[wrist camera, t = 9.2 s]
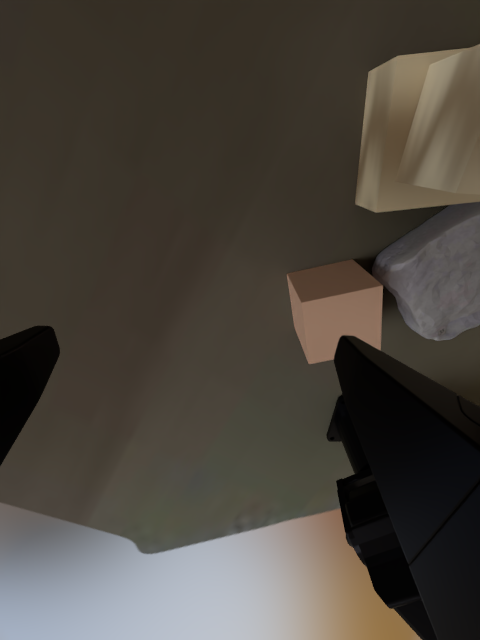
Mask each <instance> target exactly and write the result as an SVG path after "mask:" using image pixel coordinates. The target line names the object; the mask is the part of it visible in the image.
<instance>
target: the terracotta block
mask: <svg viewBox="0 0 480 640" xmlns="http://www.w3.org/2000/svg"><path fill="white" fill-rule="evenodd" d="M287 278H288V285H289V292H290V299H291V306H292V313H293V320H294V327H295V330H296V332H297V335H298V337H299V340H300V343H301V345H302V348H303V350H304V353H305V355H306V358H307V360H308V363H309V364H313V363H318V362H323V361H328V360H333V359H334V355H335V351H336V348H337V344H338V341H339V338H340V337H341V336H342V335H352V336H355V337H357V338H359V339H361V340H362V341H364V342H366V343H368V344H369V345H371V346H373V347H375V348H377V349H378V350H381V325H382V299H383V285H382V284H381V283H380V282H378V281H377V280H376V279H375V278H374V277H373V276H371V275H370V274H369V273H368V272H367V271H366V270H364V269H363V268H362V267H361V266H360V265H359V264H357V263H356V262H355V261H354V260H353V259H351V260H347V261H342V262H338V263H333V264H328V265H324V266H319V267H315V268H310V269H306V270H301V271H297V272H292V273H288V274H287Z"/></svg>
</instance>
